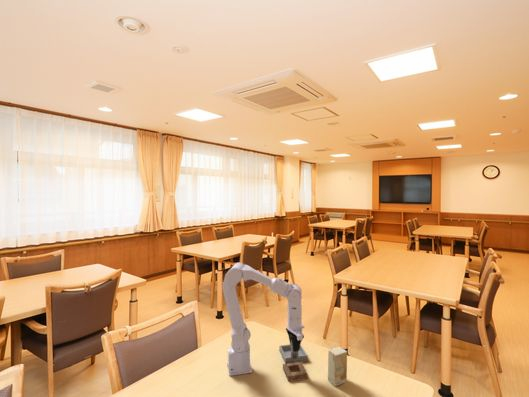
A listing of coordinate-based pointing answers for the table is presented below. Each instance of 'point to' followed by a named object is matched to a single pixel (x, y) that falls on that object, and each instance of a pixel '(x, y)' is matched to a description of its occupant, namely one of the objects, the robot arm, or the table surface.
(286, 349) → the tray
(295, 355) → the pin
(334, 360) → the skincare box
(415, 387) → the table surface
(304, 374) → the socket
